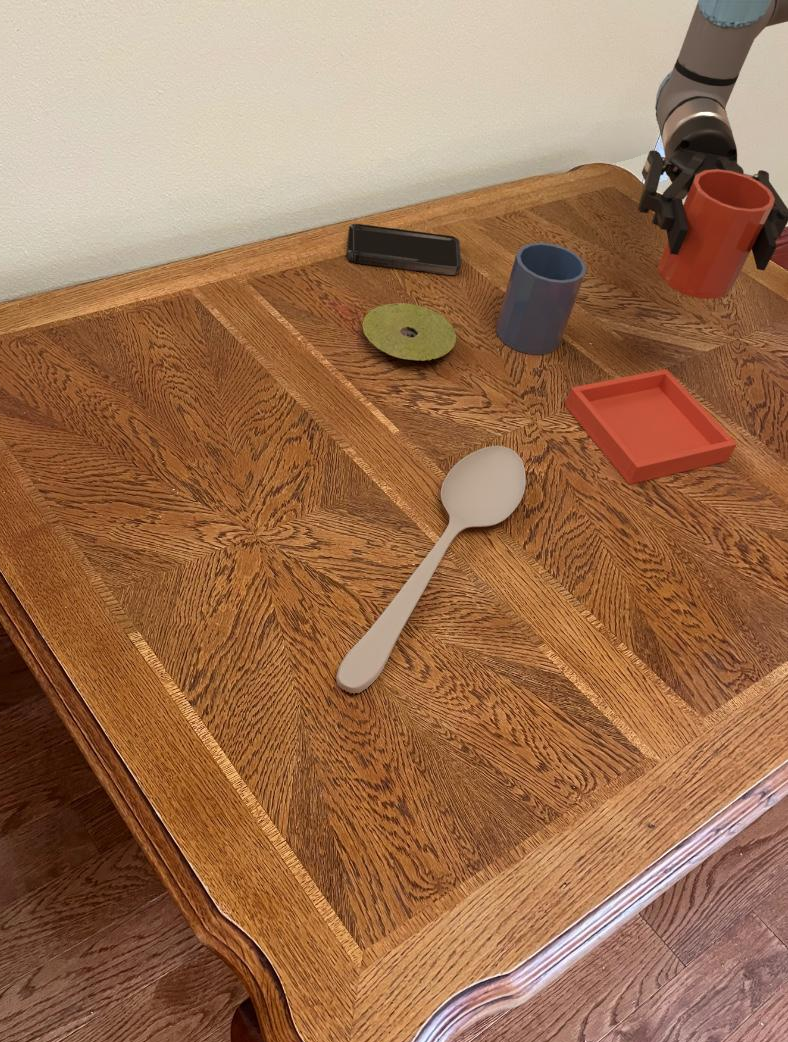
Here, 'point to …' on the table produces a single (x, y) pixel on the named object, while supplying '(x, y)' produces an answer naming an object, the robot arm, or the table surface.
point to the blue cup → (540, 297)
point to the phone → (403, 249)
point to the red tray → (649, 425)
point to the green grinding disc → (409, 331)
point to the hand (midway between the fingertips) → (723, 250)
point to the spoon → (440, 551)
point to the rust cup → (716, 233)
